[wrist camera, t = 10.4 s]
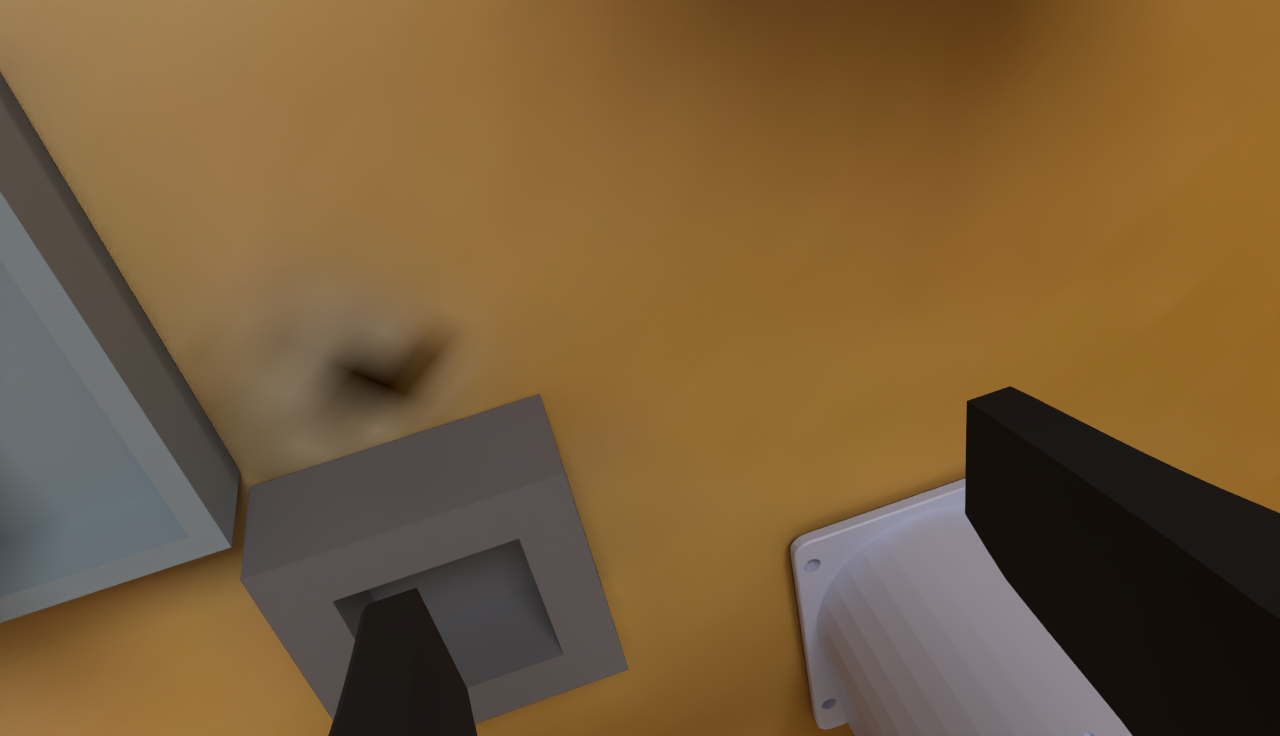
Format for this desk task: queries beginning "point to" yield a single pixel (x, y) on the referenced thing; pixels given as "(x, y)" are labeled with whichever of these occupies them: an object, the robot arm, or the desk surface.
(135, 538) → the parts tray
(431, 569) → the grey square holder
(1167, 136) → the desk surface
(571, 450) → the desk surface
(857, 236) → the desk surface
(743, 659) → the desk surface
